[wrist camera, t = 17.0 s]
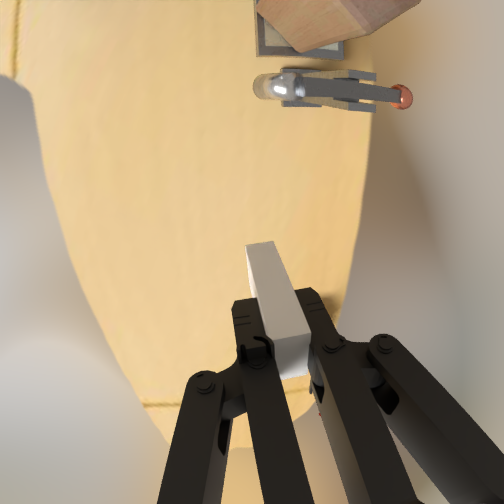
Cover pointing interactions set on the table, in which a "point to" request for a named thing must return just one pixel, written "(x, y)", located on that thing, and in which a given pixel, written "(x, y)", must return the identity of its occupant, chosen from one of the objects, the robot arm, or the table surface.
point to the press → (277, 46)
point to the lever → (326, 89)
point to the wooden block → (328, 19)
